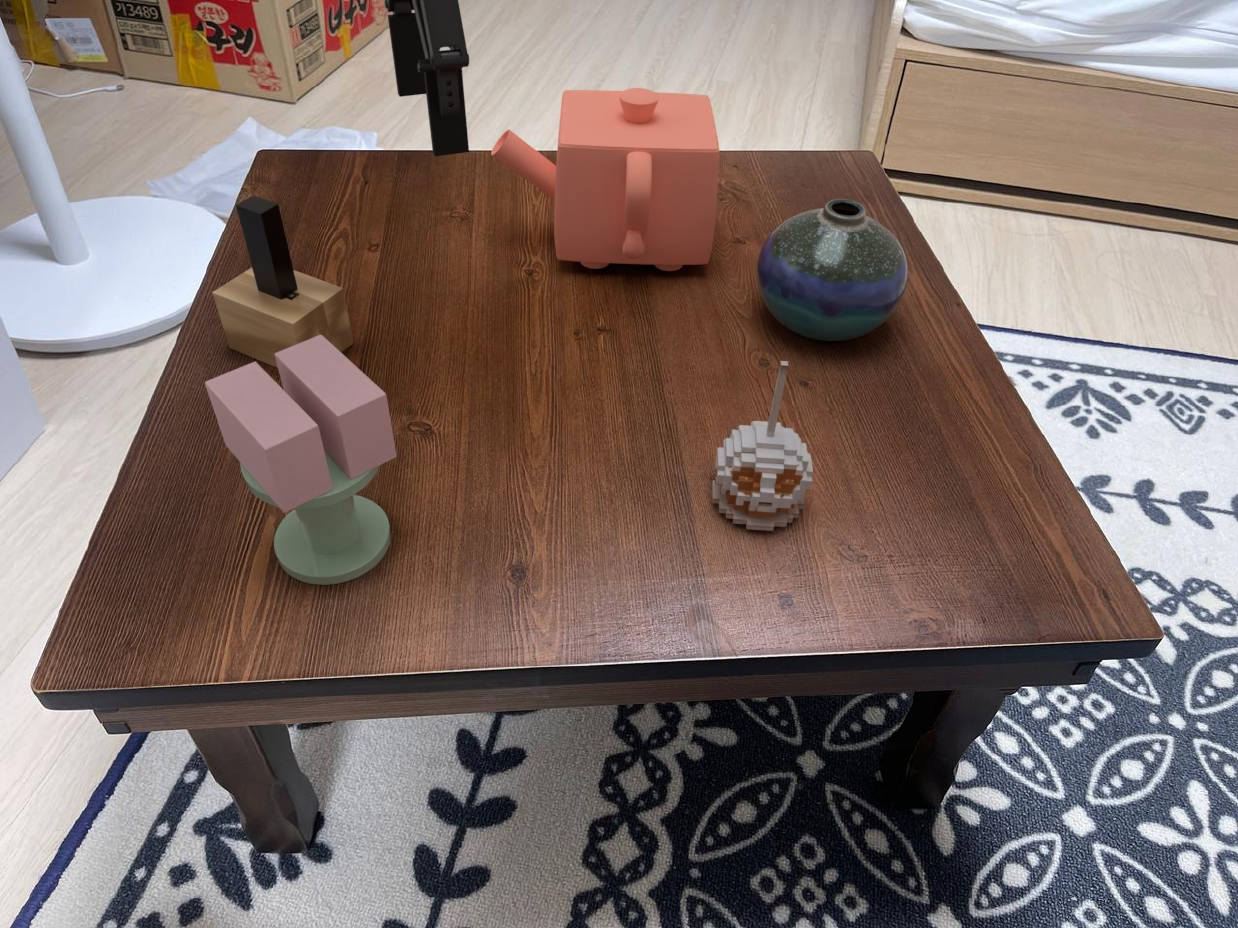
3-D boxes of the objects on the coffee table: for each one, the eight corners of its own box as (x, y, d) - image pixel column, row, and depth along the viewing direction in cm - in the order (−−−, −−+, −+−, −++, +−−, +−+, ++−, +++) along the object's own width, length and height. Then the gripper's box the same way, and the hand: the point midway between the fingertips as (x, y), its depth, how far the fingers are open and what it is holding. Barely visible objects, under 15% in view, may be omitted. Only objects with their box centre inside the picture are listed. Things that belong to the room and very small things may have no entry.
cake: (284, 513, 64) (265, 449, 60) (225, 445, 69) (203, 381, 65) (397, 456, 69) (386, 393, 65) (334, 396, 73) (321, 333, 69)
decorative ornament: (712, 531, 78) (735, 392, 68) (710, 467, 84) (731, 330, 73) (805, 537, 78) (842, 399, 68) (797, 473, 84) (830, 336, 73)
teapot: (487, 291, 103) (476, 134, 90) (503, 193, 119) (496, 49, 107) (713, 297, 104) (733, 143, 91) (698, 199, 120) (714, 57, 108)
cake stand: (308, 611, 70) (281, 521, 64) (247, 535, 76) (216, 444, 69) (421, 547, 76) (406, 457, 69) (356, 480, 81) (337, 390, 74)
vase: (903, 367, 96) (939, 253, 86) (753, 358, 96) (773, 243, 87) (880, 285, 107) (910, 176, 98) (746, 277, 107) (763, 167, 98)
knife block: (306, 380, 90) (292, 323, 86) (228, 348, 93) (211, 292, 89) (353, 343, 95) (343, 288, 90) (278, 314, 98) (264, 259, 93)
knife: (298, 357, 93) (263, 214, 82) (270, 345, 94) (232, 204, 83) (313, 345, 94) (281, 204, 84) (285, 334, 95) (250, 194, 85)
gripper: (500, -163, 56) (518, 175, 70) (413, -209, 74) (441, 69, 87) (375, -159, 54) (419, 188, 68) (315, -208, 71) (360, 77, 85)
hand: (431, 122), depth 78 cm, fingers open, 13 cm apart
